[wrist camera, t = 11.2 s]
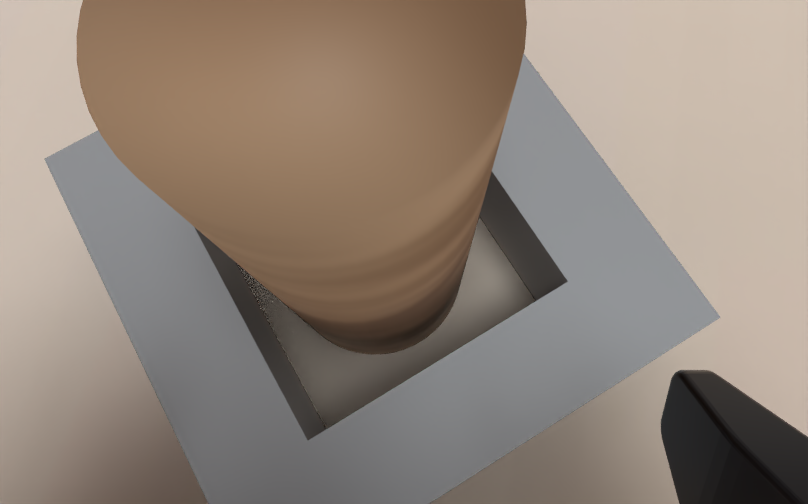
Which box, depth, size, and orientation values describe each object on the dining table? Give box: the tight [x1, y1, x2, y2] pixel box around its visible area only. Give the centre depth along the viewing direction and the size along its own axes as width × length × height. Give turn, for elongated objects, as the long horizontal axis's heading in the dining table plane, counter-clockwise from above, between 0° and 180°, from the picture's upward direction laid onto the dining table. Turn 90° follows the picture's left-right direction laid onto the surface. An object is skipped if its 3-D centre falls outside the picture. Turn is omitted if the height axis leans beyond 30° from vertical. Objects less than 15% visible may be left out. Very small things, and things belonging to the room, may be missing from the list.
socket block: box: [45, 54, 720, 504], centre depth 17 cm, size 12×12×4 cm
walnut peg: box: [77, 0, 527, 354], centre depth 13 cm, size 5×5×12 cm
